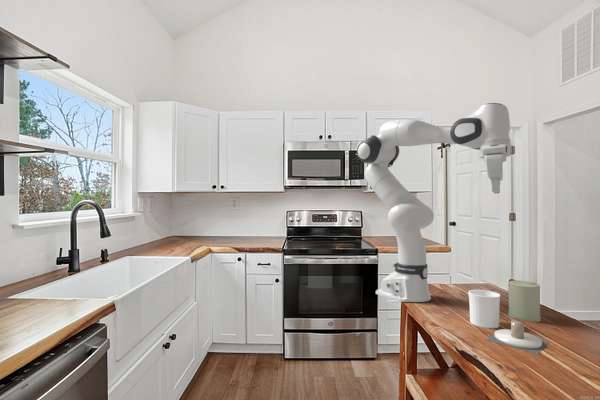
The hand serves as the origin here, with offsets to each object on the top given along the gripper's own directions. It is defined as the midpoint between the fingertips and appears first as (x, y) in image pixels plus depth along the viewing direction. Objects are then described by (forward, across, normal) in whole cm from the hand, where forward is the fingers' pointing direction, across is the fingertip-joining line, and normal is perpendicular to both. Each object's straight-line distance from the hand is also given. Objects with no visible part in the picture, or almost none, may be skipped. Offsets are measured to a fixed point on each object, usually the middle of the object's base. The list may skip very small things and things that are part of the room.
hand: (496, 192), depth 110 cm
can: (+43, -9, +7) cm, 44 cm away
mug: (+42, +7, -5) cm, 43 cm away
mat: (+42, +18, +5) cm, 46 cm away
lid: (+42, +18, +5) cm, 45 cm away
